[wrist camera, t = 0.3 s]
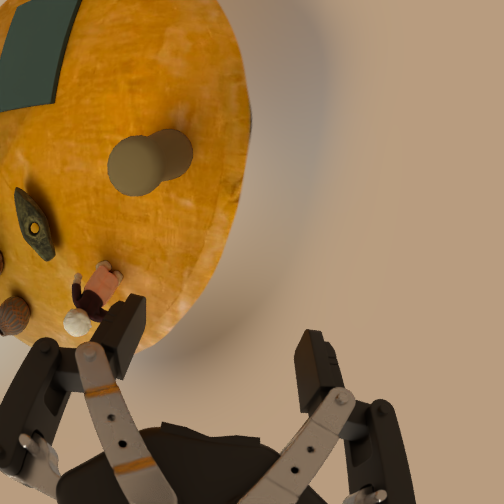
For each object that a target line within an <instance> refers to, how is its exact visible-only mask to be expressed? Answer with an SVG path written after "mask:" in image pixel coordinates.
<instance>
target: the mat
mask: <svg viewBox="0 0 504 504" xmlns="http://www.w3.org/2000/svg"><path fill="white" fill-rule="evenodd" d="M81 1H82V0H31V1H29V2H26V3H24V4H22V5H20V6H18V7H17V9H16V12H15V14H14V17H13V19H12V22H11V25H10V28H9V31H8V34H7V37H6V40H5V43H4V47H3V50H2V54H1V58H0V112H4V111H8V110H13V109H19V108H24V107H31V106H37V105H44V104H52V103H54V102H55V96H56V90H57V84H58V79H59V74H60V69H61V65H62V61H63V57H64V53H65V49H66V45H67V42H68V38H69V35H70V32H71V29H72V26H73V23H74V20H75V17H76V14H77V11H78V9H79V6H80V3H81Z"/></svg>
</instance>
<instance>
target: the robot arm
mask: <svg viewBox="0 0 504 504" xmlns="http://www.w3.org/2000/svg"><path fill="white" fill-rule="evenodd" d="M145 325H146V298H145V297H144V296H140V295H136V294H132V293H131V294H130V295H129V296H128V298H127V300H126V301H125V302H123V301H118V302H117V303H115V304H114V305H112V306H111V308H110V309H109V311H108V312H107V314H106V315H105V317H104V319H103V320H102V322H101V323H100V325H99V327H98V328H97V330H96V331H95V333H94V335H93V336H92V338H91V340H90V341H89V342H84V343H82V344H80V345H79V346H78V347H77V348H63V347H59V345H58V343H57V342H56V341H55V340H54V339H52V338H48V337H45V338H41V339H39V340H37V341H36V342H35V343H34V345H33V346H32V348H31V350H30V351H29V353H28V355H27V356H26V358H25V360H24V361H23V363H22V365H21V367H20V368H19V370H18V372H17V374H16V376H15V377H14V379H13V381H12V383H11V385H10V387H9V389H8V391H7V392H6V394H5V396H4V398H3V401H2V403H1V405H0V471H1V472H3V473H4V474H5V475H7V476H9V477H10V478H12V479H14V480H15V481H17V482H19V483H22V484H23V485H25V486H28V487H30V488H35V489H37V490H38V491H40V492H42V493H44V494H46V495H48V496H50V497H52V498H54V499H56V500H57V503H58V504H327V503H326V502H325V501H324V500H323V499H322V498H321V497H320V496H319V495H318V494H317V493H316V492H315V491H314V490H313V489H312V488H311V487H310V486H309V485H308V484H309V483H310V482H311V480H312V479H313V478H314V476H315V475H316V473H317V472H318V470H319V469H320V468H321V466H322V465H323V463H324V462H325V460H326V459H327V457H328V456H329V454H330V452H331V451H332V449H333V448H334V446H335V445H336V443H337V441H338V439H339V438H341V439H344V446H345V454H346V463H347V473H348V482H349V492H350V495H349V496H347V497H346V498H345V500H344V501H343V504H416V501H415V495H414V490H413V484H412V479H411V474H410V470H409V465H408V461H407V456H406V452H405V448H404V444H403V440H402V436H401V432H400V428H399V425H398V421H397V417H396V414H395V411H394V408H393V406H392V405H391V404H390V403H389V402H387V401H386V400H383V399H378V400H375V401H373V403H372V404H368V403H364V402H361V401H358V400H355V397H354V395H353V394H352V393H351V392H350V391H349V390H347V389H345V387H344V383H343V379H342V375H341V372H340V368H339V365H338V361H337V359H336V354H335V350H334V349H333V347H332V346H331V344H330V343H329V342H325V341H324V339H323V336H322V332H321V331H317V330H309V329H306V330H305V332H304V334H303V336H302V338H301V340H300V342H299V344H298V346H297V348H296V350H295V355H294V363H295V371H296V379H297V387H298V395H299V403H300V412H301V413H308V414H309V418H308V419H307V420H306V422H305V423H304V425H303V426H302V427H301V428H300V430H299V431H298V432H297V433H296V435H295V436H294V437H293V438H292V439H291V441H290V442H289V443H288V444H287V446H286V447H285V448H284V449H283V450H282V451H281V452H280V453H278V452H276V451H275V450H273V449H271V448H270V447H268V446H265V445H263V444H260V438H258V437H247V436H238V435H235V436H223V437H209V436H206V435H203V434H201V433H198V432H196V431H194V430H191V429H189V428H187V427H183V426H178V425H174V424H169V423H166V422H162V424H161V427H152V428H147V429H143V430H140V431H138V429H137V427H136V425H135V423H134V421H133V419H132V417H131V415H130V412H129V410H128V408H127V406H126V404H125V401H124V399H123V396H122V394H121V391H120V389H119V387H118V386H117V384H116V381H115V380H116V378H117V379H120V380H123V379H124V377H125V374H126V372H127V369H128V367H129V364H130V362H131V360H132V357H133V355H134V353H135V350H136V348H137V346H138V343H139V341H140V339H141V337H142V334H143V332H144V329H145ZM71 392H83V393H84V396H85V400H86V403H87V406H88V409H89V412H90V415H91V418H92V421H93V424H94V427H95V429H96V432H97V435H98V437H99V440H100V442H101V444H102V447H103V449H104V452H102V453H100V454H99V455H97V456H95V457H93V458H91V459H90V460H88V461H86V462H84V463H82V464H80V465H79V466H77V467H75V468H73V469H71V470H69V471H68V472H66V473H65V474H63V475H62V476H61V475H60V473H59V470H58V455H57V453H56V451H55V450H54V449H53V448H52V447H51V446H52V443H53V440H54V437H55V434H56V431H57V429H58V426H59V423H60V420H61V418H62V415H63V412H64V409H65V407H66V404H67V402H68V399H69V397H70V394H71Z"/></svg>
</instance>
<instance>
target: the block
mask: <svg viewBox="0 0 504 504" xmlns="http://www.w3.org/2000/svg"><path fill="white" fill-rule="evenodd" d="M2 270H3V262H2V256H1V253H0V275H1V273H2Z"/></svg>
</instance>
